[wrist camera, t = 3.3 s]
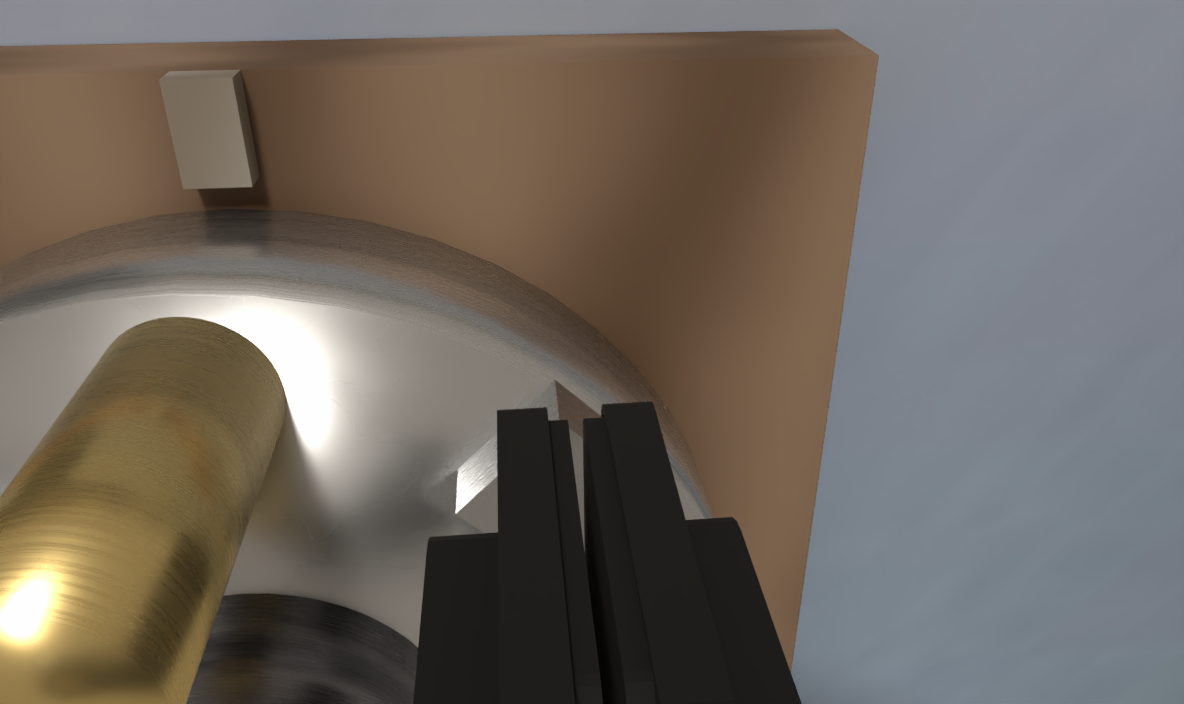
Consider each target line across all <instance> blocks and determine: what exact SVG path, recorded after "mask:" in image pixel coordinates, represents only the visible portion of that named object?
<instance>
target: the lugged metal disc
mask: <svg viewBox="0 0 1184 704" xmlns="http://www.w3.org/2000/svg"><path fill="white" fill-rule="evenodd" d="M648 401H651V402H653V404H654V407H655V410H656V414H657V417H658V421H659V425H660V428H661V432H662V435H663V439H664V443H665V446H666V450H667V454H668V457H669V461H670V465H671V468H672V472H673V476H674V479H675V483H676V486H677V490H678V494H679V497H680V501H681V505H682V508H683V512H684V516H685V519H686V520H693V519H708V518H714V516H713V513H712V509H711V506H710V503H709V500H708V496H707V493H706V490H705V487H704V485H703V482H702V479H701V476H700V473H699V471H698V468H697V465H696V462H695V459H694V457H693V454H692V451H691V449H690V447H689V445H688V443H687V441H686V440H685V438H684V436H683V434H682V432H681V430H680V429H679V427H678V425H677V423H676V421H675V420H674V418H673V416H672V414H671V412H670V411H669V409H668V407H667V406H666V404H665V403H664V402H663V401H662V399H661V398H660V397H659V395H658V394H657V393H656V392H655V390H654V389H653V388H652V386H651V385H650V384H649V383H648V381H647V380H646V379H645V377H644V376H643V375H642V373H641V372H640V371H639V370H638V368H637V367H636V366H635V365H634V364H633V363H632V362H631V361H630V360H629V359H628V358H627V357H626V356H625V355H624V354H623V353H622V352H621V351H619V350H618V349H617V348H616V347H615V346H614V345H613V344H612V343H611V342H610V341H609V340H608V339H607V338H606V337H605V336H604V335H603V334H602V333H601V332H600V331H599V330H598V329H597V328H595V327H594V326H593V325H591V324H590V323H589V322H587V321H586V320H584V319H583V318H582V317H580V316H579V315H578V314H576V313H575V312H574V311H572V310H571V309H569V308H568V307H567V306H565V305H564V304H563V303H561V302H560V301H559V300H557V299H556V298H554V297H553V296H552V295H550V294H549V293H547V292H545V291H544V290H542V289H540V288H538V287H536V286H535V285H533V284H531V283H529V282H527V281H525V280H524V279H522V278H520V277H518V276H516V275H515V274H513V273H511V272H509V271H507V270H506V269H504V268H502V267H500V266H498V265H496V264H495V263H492V262H490V261H487V260H485V259H482V258H480V257H477V256H475V255H472V254H470V253H467V252H465V251H462V250H460V249H457V248H455V247H453V246H450V245H448V244H445V243H443V242H440V241H438V240H435V239H432V238H429V237H425V236H421V235H418V234H414V233H410V232H406V231H403V230H399V229H395V228H392V227H388V226H384V225H380V224H377V223H373V222H369V221H365V220H358V219H351V218H344V217H337V216H330V215H324V214H317V213H310V212H303V211H293V210H256V209H218V210H208V211H197V212H186V213H176V214H165V215H156V216H151V217H147V218H142V219H138V220H134V221H129V222H125V223H120V224H116V225H111V226H107V227H102V228H98V229H94V230H89V231H87V232H84V233H81V234H79V235H76V236H73V237H71V238H68V239H65V240H63V241H60V242H57V243H55V244H52V245H49V246H46V247H44V248H41V249H38V250H36V251H33V252H30V253H28V254H26V255H24V256H23V257H21V258H19V259H17V260H15V261H13V262H12V263H10V264H8V265H6V266H4V267H2V268H1V269H0V704H413V701H414V689H415V678H416V666H417V655H418V644H419V632H420V621H421V609H422V598H423V586H424V575H425V563H426V552H427V545H428V540H429V537H435V536H451V535H466V534H481V533H496V532H498V487H497V410H506V409H524V408H542V407H547V411H548V420H566V419H567V420H568V425H569V433H570V441H571V448H572V456H573V464H574V472H575V480H576V488H577V496H578V504H579V512H580V520H581V528H582V536H583V544H584V551H585V543H584V476H583V419H584V418H601V407H602V404H613V403H631V402H648Z"/></svg>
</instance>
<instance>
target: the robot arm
mask: <svg viewBox="0 0 1184 704" xmlns="http://www.w3.org/2000/svg"><path fill="white" fill-rule="evenodd" d="M583 476H584V543H585V551H584V544H583V536H582V528H581V520H580V512H579V504H578V496H577V488H576V480H575V472H574V464H573V456H572V448H571V441H570V433H569V425H568V420H567V419H566V420H548V411H547V407H542V408H524V409H506V410H497V487H498V532H496V533H481V534H466V535H451V536H435V537H429V540H428V545H427V552H426V563H425V575H424V586H423V598H422V609H421V621H420V632H419V644H418V655H417V666H416V678H415V689H414V701H413V704H801V701H800V698H799V695H798V692H797V689H796V687H795V684H794V681H793V678H792V675H791V672H790V669H789V666H788V664H787V661H786V658H785V655H784V652H783V649H782V646H781V644H780V641H779V638H778V635H777V632H776V629H775V626H774V623H773V621H772V618H771V615H770V612H769V609H768V606H767V603H766V600H765V598H764V595H763V592H762V589H761V586H760V583H759V580H758V577H757V575H756V572H755V569H754V566H753V563H752V560H751V557H750V554H749V552H748V549H747V546H746V543H745V540H744V537H743V534H742V531H741V529H740V527H739V525H738V522H737V521H736V520H735V519H734V518H733V517H723V518H708V519H693V520H686V519H685V516H684V512H683V508H682V505H681V501H680V497H679V494H678V490H677V486H676V483H675V479H674V476H673V472H672V468H671V465H670V461H669V457H668V454H667V450H666V446H665V443H664V439H663V435H662V432H661V428H660V425H659V421H658V417H657V414H656V410H655V407H654V404H653V402H651V401H648V402H631V403H613V404H602V407H601V418H584V419H583Z"/></svg>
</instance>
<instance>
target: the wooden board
mask: <svg viewBox="0 0 1184 704" xmlns="http://www.w3.org/2000/svg"><path fill="white" fill-rule="evenodd" d="M878 58H879V55H877V54H876V53H874V52H873V51H871V50H870V49H868V48H866V47H865V46H863V45H862V44H860V43H859V42H857V41H855V40H854V39H852V38H851V37H849V36H848V35H846V34H844V33H843V32H841V31H840V30H838V29H835V30H786V31H736V32H687V33H637V34H588V35H538V36H489V37H439V38H390V39H340V40H291V41H241V42H192V43H142V44H93V45H43V46H0V269H1V268H2V267H4V266H6V265H8V264H10V263H12V262H13V261H15V260H17V259H19V258H21V257H23V256H24V255H26V254H28V253H30V252H33V251H36V250H38V249H41V248H44V247H46V246H49V245H52V244H55V243H57V242H60V241H63V240H65V239H68V238H71V237H73V236H76V235H79V234H81V233H84V232H87V231H89V230H94V229H98V228H102V227H107V226H111V225H116V224H120V223H125V222H129V221H134V220H138V219H142V218H147V217H151V216H156V215H165V214H176V213H186V212H197V211H208V210H218V209H256V210H293V211H303V212H310V213H317V214H324V215H330V216H337V217H344V218H351V219H358V220H365V221H369V222H373V223H377V224H380V225H384V226H388V227H392V228H395V229H399V230H403V231H406V232H410V233H414V234H418V235H421V236H425V237H429V238H432V239H435V240H438V241H440V242H443V243H445V244H448V245H450V246H453V247H455V248H457V249H460V250H462V251H465V252H467V253H470V254H472V255H475V256H477V257H480V258H482V259H485V260H487V261H490V262H492V263H495V264H496V265H498V266H500V267H502V268H504V269H506V270H507V271H509V272H511V273H513V274H515V275H516V276H518V277H520V278H522V279H524V280H525V281H527V282H529V283H531V284H533V285H535V286H536V287H538V288H540V289H542V290H544V291H545V292H547V293H549V294H550V295H552V296H553V297H554V298H556V299H557V300H559V301H560V302H561V303H563V304H564V305H565V306H567V307H568V308H569V309H571V310H572V311H574V312H575V313H576V314H578V315H579V316H580V317H582V318H583V319H584V320H586V321H587V322H589V323H590V324H591V325H593V326H594V327H595V328H597V329H598V330H599V331H600V332H601V333H602V334H603V335H604V336H605V337H606V338H607V339H608V340H609V341H610V342H611V343H612V344H613V345H614V346H615V347H616V348H617V349H618V350H619V351H621V352H622V353H623V354H624V355H625V356H626V357H627V358H628V359H629V360H630V361H631V362H632V363H633V364H634V365H635V366H636V367H637V368H638V370H639V371H640V372H641V373H642V375H643V376H644V377H645V379H646V380H647V381H648V383H649V384H650V385H651V386H652V388H653V389H654V390H655V392H656V393H657V394H658V395H659V397H660V398H661V399H662V401H663V402H664V403H665V404H666V406H667V407H668V409H669V411H670V412H671V414H672V416H673V418H674V420H675V421H676V423H677V425H678V427H679V429H680V430H681V432H682V434H683V436H684V438H685V440H686V441H687V443H688V445H689V447H690V449H691V451H692V454H693V457H694V459H695V462H696V465H697V468H698V471H699V473H700V476H701V479H702V482H703V485H704V487H705V490H706V493H707V496H708V500H709V503H710V506H711V509H712V513H713V516H714V518H723V517H733V518H734V519H735V520H736V521H737V522H738V525H739V527H740V529H741V531H742V534H743V537H744V540H745V543H746V546H747V549H748V552H749V554H750V557H751V560H752V563H753V566H754V569H755V572H756V575H757V577H758V580H759V583H760V586H761V589H762V592H763V595H764V598H765V600H766V603H767V606H768V609H769V612H770V615H771V618H772V621H773V623H774V626H775V629H776V632H777V635H778V638H779V641H780V644H781V646H782V649H783V652H784V655H785V658H786V661H787V664H788V666H789V669H790V672H791V668H792V661H793V654H794V647H795V640H796V633H797V626H798V619H799V612H800V605H801V598H802V591H803V584H804V577H805V570H806V563H807V556H808V549H809V541H810V534H811V527H812V520H813V513H814V506H815V499H816V492H817V485H818V478H819V471H820V464H821V457H822V450H823V443H824V436H825V429H826V422H827V415H828V408H829V401H830V394H831V387H832V380H833V373H834V366H835V359H836V352H837V345H838V338H839V331H840V324H841V317H842V310H843V303H844V296H845V289H846V282H847V275H848V268H849V261H850V254H851V247H852V240H853V233H854V226H855V219H856V212H857V205H858V198H859V191H860V184H861V177H862V170H863V163H864V156H865V149H866V142H867V135H868V128H869V121H870V114H871V107H872V100H873V93H874V86H875V79H876V72H877V65H878Z"/></svg>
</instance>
